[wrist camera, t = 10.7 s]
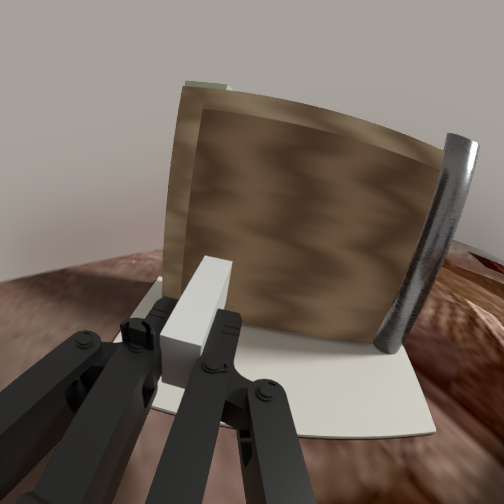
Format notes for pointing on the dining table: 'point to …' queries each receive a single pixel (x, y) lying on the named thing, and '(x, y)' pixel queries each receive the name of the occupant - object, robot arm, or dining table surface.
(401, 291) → the hinge post
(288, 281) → the gate
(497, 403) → the dining table surface
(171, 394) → the mat
